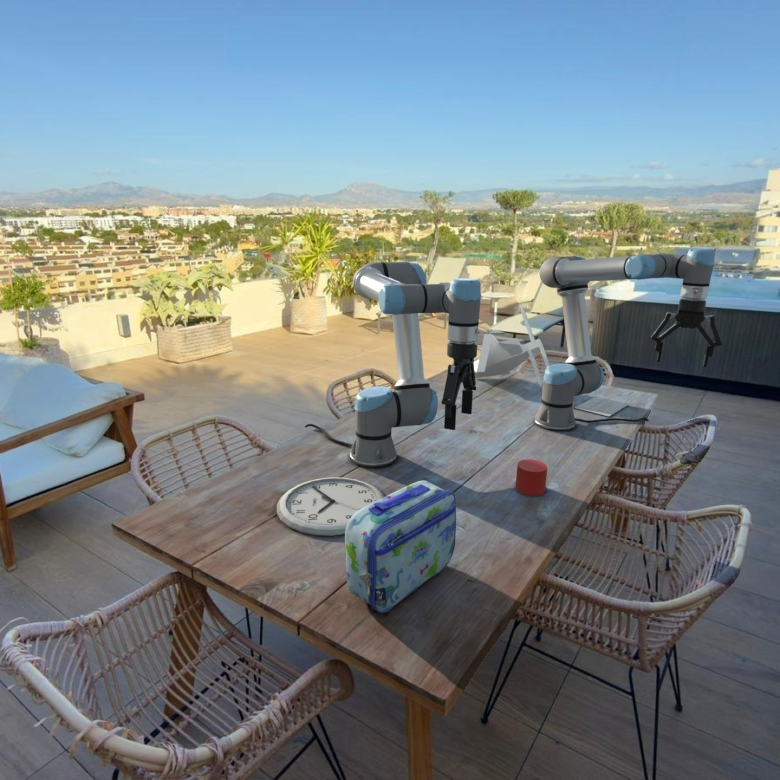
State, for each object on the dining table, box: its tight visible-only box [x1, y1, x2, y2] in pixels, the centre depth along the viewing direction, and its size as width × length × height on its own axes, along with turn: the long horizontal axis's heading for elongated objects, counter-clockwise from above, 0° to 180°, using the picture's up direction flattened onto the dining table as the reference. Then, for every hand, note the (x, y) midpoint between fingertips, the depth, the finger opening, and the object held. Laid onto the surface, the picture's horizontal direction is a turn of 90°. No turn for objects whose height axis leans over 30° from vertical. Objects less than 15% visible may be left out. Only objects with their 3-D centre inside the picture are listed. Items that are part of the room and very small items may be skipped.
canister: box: [515, 458, 549, 497], centre depth 153 cm, size 8×8×8 cm
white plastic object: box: [474, 307, 551, 390], centre depth 257 cm, size 37×45×31 cm
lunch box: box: [344, 480, 457, 614], centre depth 109 cm, size 26×11×21 cm, turn 135°
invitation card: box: [573, 396, 629, 418], centre depth 226 cm, size 21×1×15 cm
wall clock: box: [276, 476, 386, 537], centre depth 142 cm, size 30×2×30 cm
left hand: (458, 420), depth 138 cm, fingers open, 13 cm apart
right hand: (680, 363), depth 173 cm, fingers open, 13 cm apart
